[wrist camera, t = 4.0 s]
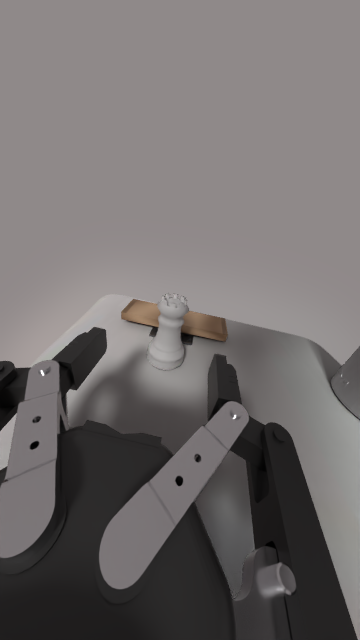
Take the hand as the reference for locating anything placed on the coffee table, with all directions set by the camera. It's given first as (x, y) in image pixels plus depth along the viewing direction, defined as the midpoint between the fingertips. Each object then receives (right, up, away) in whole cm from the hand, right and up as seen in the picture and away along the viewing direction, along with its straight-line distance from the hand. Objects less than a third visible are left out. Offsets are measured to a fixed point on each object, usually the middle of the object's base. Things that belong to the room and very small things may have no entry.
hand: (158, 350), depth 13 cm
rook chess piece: (0, -3, +9) cm, 9 cm away
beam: (+1, +2, +14) cm, 14 cm away
